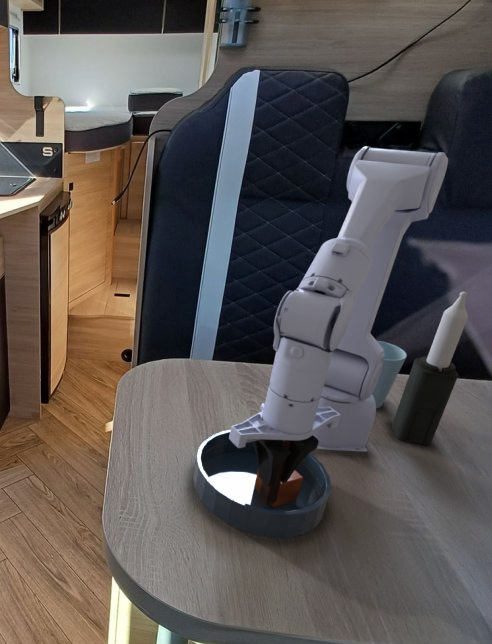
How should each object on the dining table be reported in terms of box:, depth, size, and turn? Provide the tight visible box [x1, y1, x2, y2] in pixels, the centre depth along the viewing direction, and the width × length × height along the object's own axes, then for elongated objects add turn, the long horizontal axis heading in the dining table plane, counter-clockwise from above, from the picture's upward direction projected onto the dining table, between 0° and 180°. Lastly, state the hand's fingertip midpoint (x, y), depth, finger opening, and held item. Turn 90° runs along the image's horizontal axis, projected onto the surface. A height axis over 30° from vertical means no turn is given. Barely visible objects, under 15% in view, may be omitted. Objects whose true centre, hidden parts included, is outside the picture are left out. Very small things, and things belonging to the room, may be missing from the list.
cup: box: [372, 340, 408, 409], centre depth 92 cm, size 8×8×10 cm
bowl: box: [192, 429, 332, 539], centre depth 71 cm, size 17×17×4 cm
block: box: [254, 468, 303, 507], centre depth 70 cm, size 4×4×4 cm
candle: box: [391, 291, 469, 447], centre depth 79 cm, size 5×5×25 cm
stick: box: [259, 440, 291, 505], centre depth 66 cm, size 2×2×10 cm
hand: (272, 479), depth 67 cm, fingers closed on stick, 1 cm apart
